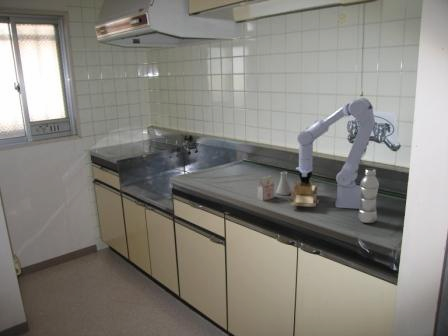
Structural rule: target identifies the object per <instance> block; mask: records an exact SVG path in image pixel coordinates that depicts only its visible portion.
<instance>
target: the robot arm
mask: <svg viewBox="0 0 448 336" xmlns="http://www.w3.org/2000/svg"><path fill="white" fill-rule="evenodd" d="M373 109H374V107H373V104H372V103H371V102H370V101H369V99H367V98H365V97H360V98H358V99H353V100H352V101H351V102H349V103H346V104H344V105H343V106H340V108H338V109H337V110H336V111H334V112H333V113H331V115H329V116H327V118H325V119H316V120H315V121H313V122H314V123H313V124H312V125H311V126H306V128H305V130H302V131H300V133H298V135H297V139H296V140H297V142H298V144H299V147H298V167H295V170H297V171H299V172H298V177H299V179H300V182H310V179H311V177H312V175H313V169H314V168H313V160H314V159H313V155H314V154H313V153H314V141H315V140H317V139H318V138H319V137H322V136H323V135H324V134H326V133H327V132H329V128H330V126H332V125H333V124H335V123H336V122H337V121H339V120H341V119H342V118H344V117H350V116H352V117H353V118H354V119H356V121H357V123H358V124H359V128H358V131H357V132H356V133H357V134H356V135H355V138H354V141H353V143H352V145H351V149H350V151H349V153H348V155H347V158H346V160H345V163H344V164H343V166H342V168H341V170H340V171H339V172H338V173H337V174H336V177H335V179H336V180H335V181H336V184H337V185H336V186H337V187H336V189H337V190H336V200H335V201H334V202H335V208H340V209H342V208H343V209H354V210H355V209H357V210H358V209H360V204H361V186H360V185H357V183H356V181H355V180H356V179H358V174H359V173H358V169H359V164H360V163H361V160H362V157H363V154H364V152H365V149H366V147H367V145H368V142H369V139H370V137H371V135H372V133H373V130H374V128H375V125H376V119H375V116H374V110H373Z"/></svg>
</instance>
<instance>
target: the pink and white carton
mask: <svg viewBox="0 0 448 336" xmlns="http://www.w3.org/2000/svg"><path fill="white" fill-rule="evenodd" d="M274 183H275V182H274V179H273V176H272V175H268V176H264V177H260V178H259V181H258V184H257V185H256V186H257V189H256V191H257V198H256V199H257V200H260V201H262V202H264V201H268V200H272V199H275V184H274Z"/></svg>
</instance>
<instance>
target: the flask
mask: <svg viewBox="0 0 448 336" xmlns="http://www.w3.org/2000/svg"><path fill="white" fill-rule="evenodd" d="M289 183H290V182H289V180H288V172H287V171H281V172H280V179H279V184H278V185H277V189H276V191H275V194H277V195H280V196H289V195H291V193H292V189H291V186H290V184H289Z"/></svg>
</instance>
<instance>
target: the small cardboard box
mask: <svg viewBox="0 0 448 336" xmlns="http://www.w3.org/2000/svg"><path fill="white" fill-rule="evenodd" d="M297 183H298V181H294V183H293V186H292V189H291V191H292V193H291V194H290V198H289V205H290V206H295V207H296V206H297V207H311V208H313V207H317V205H316V199H317V196H318V182H315V183H314V185H313V184H312V193H311V196H307V195H297Z"/></svg>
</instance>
